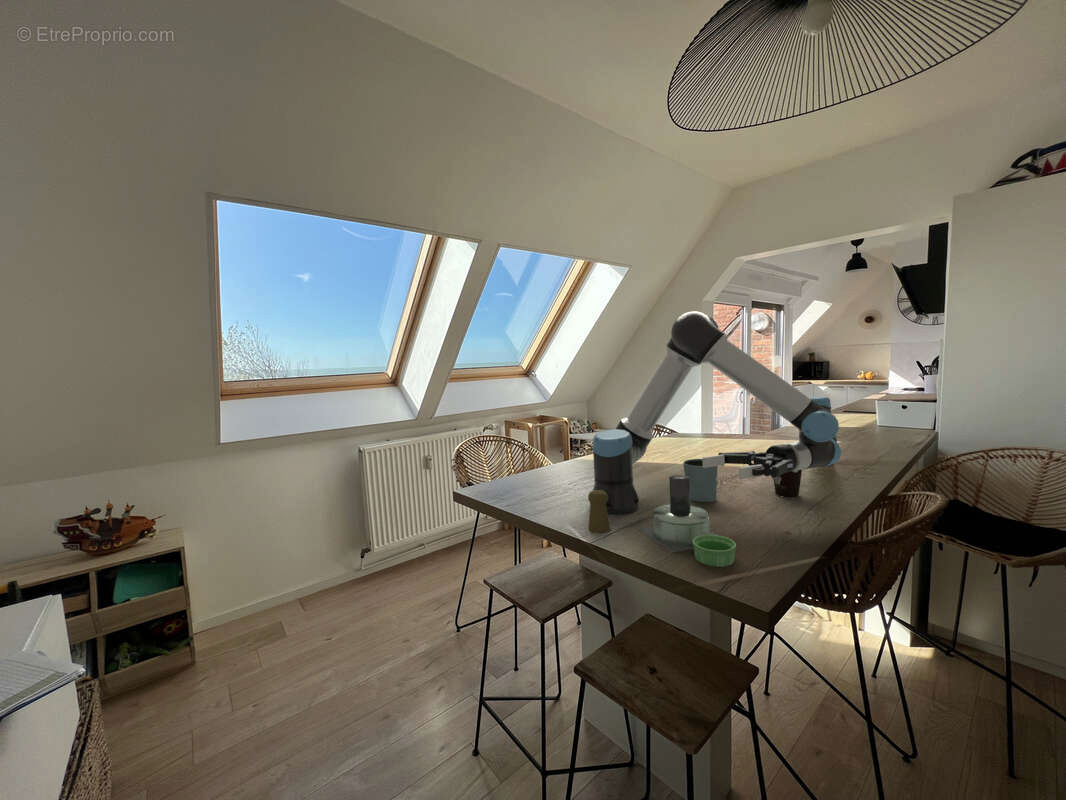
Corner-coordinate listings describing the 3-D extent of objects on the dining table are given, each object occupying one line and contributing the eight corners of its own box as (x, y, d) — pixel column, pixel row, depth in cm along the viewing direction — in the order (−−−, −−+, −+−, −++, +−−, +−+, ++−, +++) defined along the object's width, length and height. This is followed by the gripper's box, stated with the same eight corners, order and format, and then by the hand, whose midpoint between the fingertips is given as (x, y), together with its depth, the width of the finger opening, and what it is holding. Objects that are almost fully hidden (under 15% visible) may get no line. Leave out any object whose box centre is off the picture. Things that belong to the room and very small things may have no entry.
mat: (636, 531, 119) (636, 528, 119) (688, 522, 124) (688, 519, 124) (671, 555, 104) (671, 552, 104) (729, 543, 108) (729, 541, 108)
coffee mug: (807, 499, 137) (807, 466, 136) (776, 498, 139) (776, 467, 138) (793, 488, 148) (793, 458, 148) (765, 487, 150) (764, 458, 149)
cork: (585, 527, 123) (584, 488, 122) (607, 526, 124) (606, 487, 123) (590, 536, 117) (588, 495, 116) (613, 534, 118) (611, 493, 117)
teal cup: (725, 502, 138) (724, 463, 137) (696, 506, 136) (695, 467, 135) (705, 493, 148) (704, 457, 147) (677, 496, 146) (676, 460, 145)
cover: (644, 529, 118) (642, 474, 117) (687, 522, 122) (686, 468, 120) (673, 549, 106) (671, 487, 104) (720, 540, 109) (719, 480, 108)
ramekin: (687, 553, 105) (687, 535, 104) (726, 552, 104) (726, 533, 104) (700, 571, 96) (700, 551, 95) (743, 570, 95) (743, 549, 95)
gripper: (829, 482, 109) (757, 494, 103) (752, 462, 133) (690, 471, 127) (828, 451, 109) (757, 462, 103) (751, 437, 133) (689, 445, 127)
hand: (720, 467), depth 115 cm, fingers open, 13 cm apart
